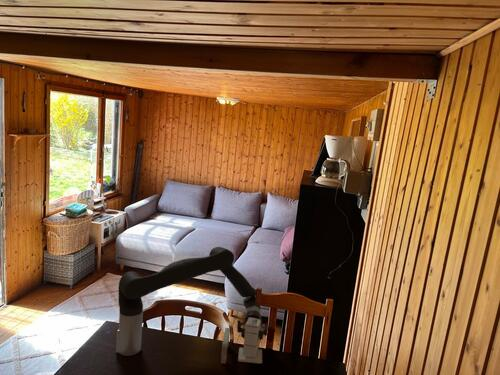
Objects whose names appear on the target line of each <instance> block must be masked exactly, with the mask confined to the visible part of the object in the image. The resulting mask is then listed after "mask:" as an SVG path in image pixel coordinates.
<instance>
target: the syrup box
mask: <svg viewBox="0 0 500 375" xmlns="http://www.w3.org/2000/svg"><path fill="white" fill-rule="evenodd" d="M261 323H262V319H261V320H260V319H257V318H248V320H247V322H246V325H245V336H244V338H243V347H242V348H243V355H245V356H249V357H254V358H256V356H257V353H258V349H260V348H259V346H260V345H259V344H260V340H259V336H260V325H261Z"/></svg>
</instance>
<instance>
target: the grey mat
mask: <svg viewBox="0 0 500 375" xmlns="http://www.w3.org/2000/svg"><path fill="white" fill-rule="evenodd" d="M243 348H244V347H239V349H238V356H237V357H238V358H237V362H241V363H250V364H251V363H253V364H262V365H263V349H260V348H258V353H257V356H256V358H254V357H249V356H245V355H243Z"/></svg>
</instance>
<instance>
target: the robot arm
mask: <svg viewBox="0 0 500 375" xmlns="http://www.w3.org/2000/svg"><path fill="white" fill-rule="evenodd" d="M234 262H235V255H234V253H233V252H232V251H231V250H229V249H228V248H225V247H221V246H216V247H213V248H212V249H211V250H210V252H209V255H208V256H203V257H189V258H184V259H183V258H182V259H179V260H177V261H173V262H171V263H169V264H168V265H166V266H165V267H164V268H162V269H161V270H159V271H158V272H156V273H152V274H150V275H146V276H141V274H140V273H138V272H137V271H132V270H131V271H127V272H124V273H123V275H122V276H121V277H120V279H119V281H118V308H119V313H118V314H119V315H118V318H119V319H118V329H117V330H116V341H115V342H116V343H115V344H116V346H115V352H116V353H118V354H119V355H122V356H126V357H129V356H134V355H137V354H139V353H140V352H141V350H142V337H143V336H142V334H143V332H142V331H143V318H144V317H143V315H144V314H143V313H144V304H143V299H142V298H144V297H146V296H147V295H150V294H152V293H154V292H156V291H158V290H159V291H160V290H161V289H165V288H166V287H170V286H174V285H177V284H180V283H182V282H185V281H188V280H191V279H194V278H196V277H200V276H203V275H206V274H208V273H212V272H215V271H220V272H221V273H222V274H223V275H224V276H225V278H226V279H227V280H228V281H229V282H230V284H231V285H232V286H233V287H234V289H235V290H236V291H237V293H238V294H239V295H240V296H241V297H242V298H244V299H243V301H242V303H243V307H244V308H245V313H244V314H245V315H244V321H243V322H241V320H240V319H239V320H237V322H236V323H237V324H236V327H237V328H236V329H237V330H236V331H237V334H239V333H241V334H240V335H241V336H240V338H242V339H244V336H245V325H246V322H247V320H248V318H257V319H260V320H261V321H262V312H261V306H260V305H259V303H257V302H255V295H256V290H257V289H256V288H254V287H253V286H252V285H251V284H250V282H249V281H248V279H247V278H246V277H245V276H244V275H243V273H241V272H240V271H238V269H237V268H235V266H234V265H233V264H234ZM268 329H269V323H265V324H263V323H262V322H261V325H260V336H259V341H262V340H263V339H264V336H267V334H268V331H269V330H268Z"/></svg>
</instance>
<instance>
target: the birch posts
mask: <svg viewBox="0 0 500 375" xmlns="http://www.w3.org/2000/svg"><path fill="white" fill-rule="evenodd" d="M230 332H231V331H230ZM230 332H229V334H230ZM229 341H230V337H229V338H228V344H227V348H226V347H222V346H221V354H220V355H221V356H220V364H226V362H227V353H228V349H229V344H230V342H229Z"/></svg>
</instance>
